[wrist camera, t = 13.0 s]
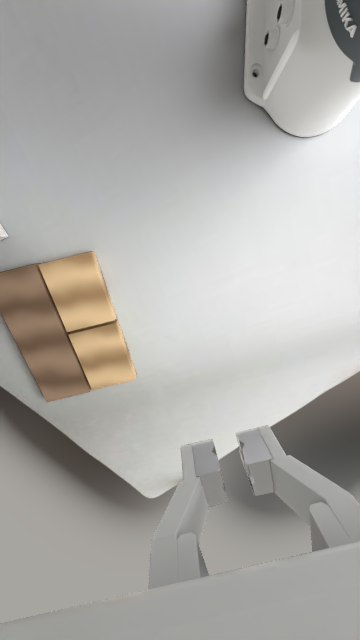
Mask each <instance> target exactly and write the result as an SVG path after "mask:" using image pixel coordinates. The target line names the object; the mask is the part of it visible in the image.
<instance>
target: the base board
mask: <svg viewBox="0 0 360 640" xmlns="http://www.w3.org/2000/svg"><path fill="white" fill-rule="evenodd" d="M39 264H41V263H38V264H32V265H28V266H24V267H20V268H16V269H12V270H8V271H4V272H0V312H1V314H2V316H3V318H4V320H5V322H6V324H7V326H8V328H9V330H10V332H11V334H12V336H13V337H14V339H15V341H16V343H17V345H18V347H19V349H20V351H21V353H22V355H23V357H24V359H25V361H26V363H27V364H28V366H29V368H30V370H31V372H32V374H33V376H34V378H35V380H36V382H37V384H38V386H39V388H40V390H41V392H42V393H43V395H44V397H45V399H46V401H47V402H50V401H54V400H58V399H62V398H67V397H71V396H75V395H79V394H83V393H87V392H90V391H91V387H90V384H89V382H88V380H87V377H86V375H85V373H84V370H83V368H82V366H81V363H80V361H79V359H78V356H77V354H76V352H75V349H74V347H73V345H72V342H71V340H70V338H69V334H70V333H71V332H70V331H69V332H67V331H66V329H65V326H64V324H63V322H62V319H61V317H60V315H59V312H58V310H57V308H56V305H55V303H54V301H53V298H52V296H51V294H50V291H49V289H48V287H47V284H46V282H45V280H44V277H43V275H42V273H41V270H40V268H39V266H38V265H39Z"/></svg>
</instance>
